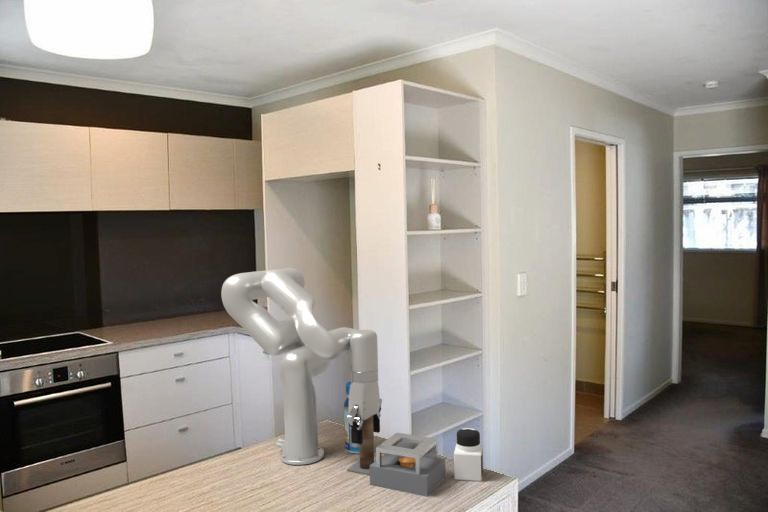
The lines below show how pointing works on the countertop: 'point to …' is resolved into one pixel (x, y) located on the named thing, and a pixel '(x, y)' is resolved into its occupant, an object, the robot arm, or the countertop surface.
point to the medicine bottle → (468, 456)
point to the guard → (408, 448)
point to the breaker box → (408, 475)
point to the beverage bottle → (348, 444)
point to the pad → (358, 469)
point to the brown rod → (367, 444)
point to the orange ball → (407, 461)
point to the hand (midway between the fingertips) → (366, 437)
